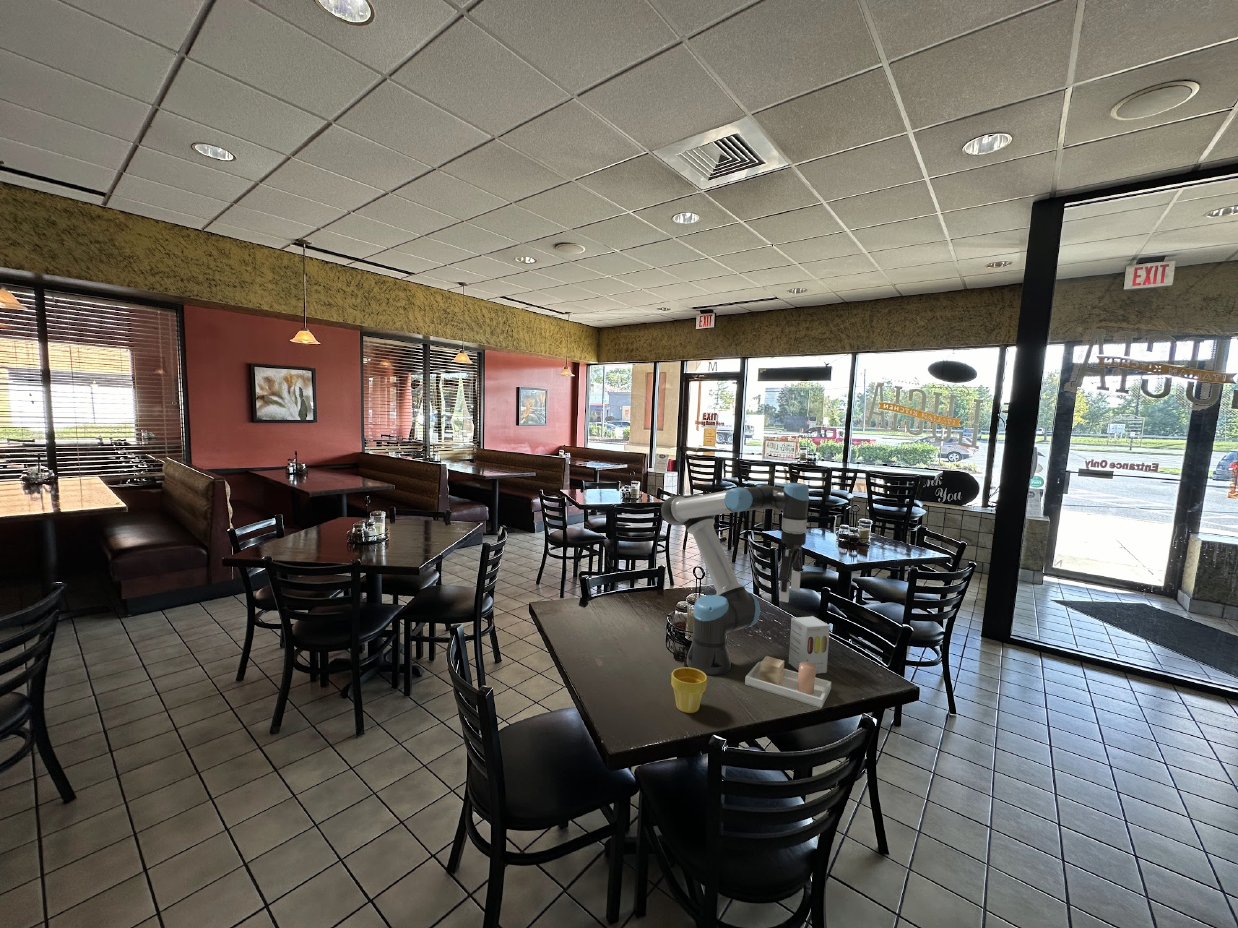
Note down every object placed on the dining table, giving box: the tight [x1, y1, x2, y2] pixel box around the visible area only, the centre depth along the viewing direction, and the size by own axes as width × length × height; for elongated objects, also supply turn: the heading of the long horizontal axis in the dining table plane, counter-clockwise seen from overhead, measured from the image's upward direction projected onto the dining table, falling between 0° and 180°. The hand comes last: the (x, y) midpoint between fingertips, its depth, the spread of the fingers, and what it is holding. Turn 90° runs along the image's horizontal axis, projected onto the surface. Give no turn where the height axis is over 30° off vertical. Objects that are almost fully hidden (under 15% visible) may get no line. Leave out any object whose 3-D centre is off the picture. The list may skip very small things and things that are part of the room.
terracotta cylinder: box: [797, 662, 817, 694], centre depth 159 cm, size 5×5×8 cm
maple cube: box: [760, 655, 785, 685], centre depth 166 cm, size 6×6×6 cm
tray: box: [744, 661, 832, 709], centre depth 163 cm, size 24×14×3 cm, turn 57°
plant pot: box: [670, 666, 708, 714], centre depth 149 cm, size 10×10×10 cm
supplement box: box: [788, 615, 830, 675], centre depth 176 cm, size 10×9×17 cm
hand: (789, 595), depth 164 cm, fingers open, 13 cm apart
